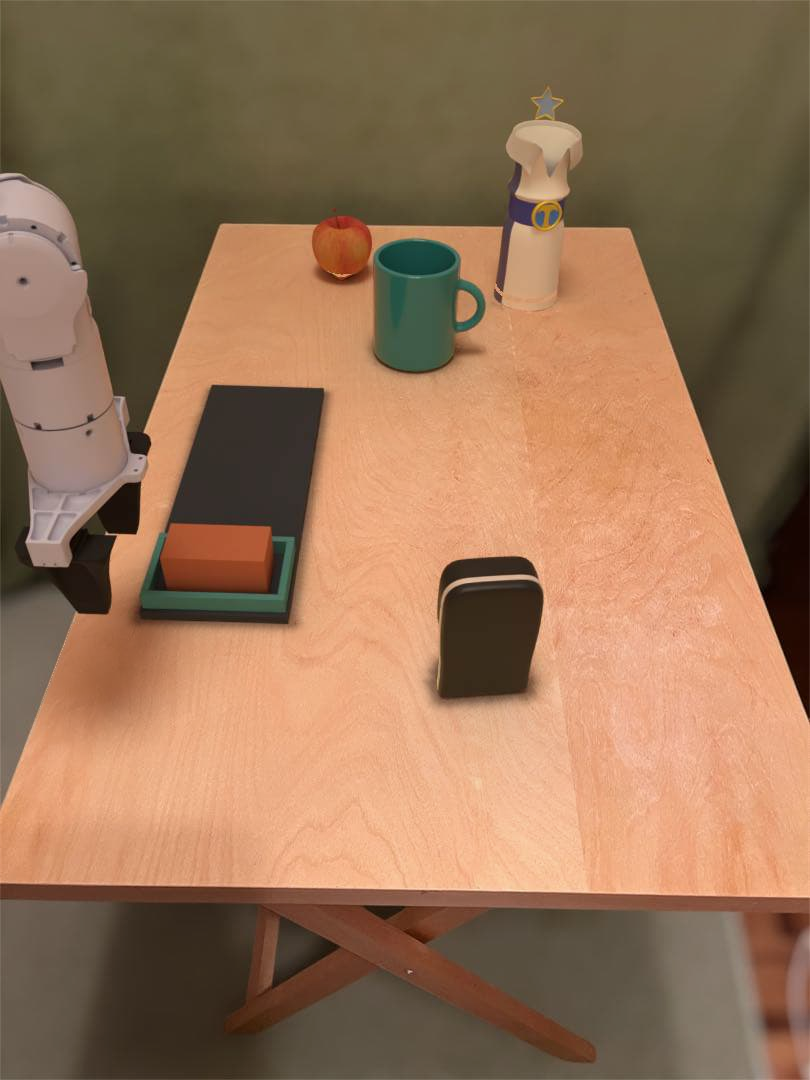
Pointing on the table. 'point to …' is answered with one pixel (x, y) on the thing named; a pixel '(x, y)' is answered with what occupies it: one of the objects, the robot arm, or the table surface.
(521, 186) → the white trophy figurine
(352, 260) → the apple
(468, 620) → the battery charger
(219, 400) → the back pad
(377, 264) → the cup
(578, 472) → the table surface
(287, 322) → the table surface
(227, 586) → the pad piece
